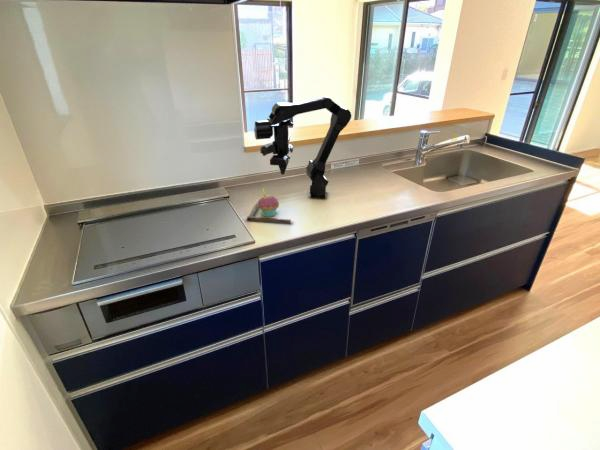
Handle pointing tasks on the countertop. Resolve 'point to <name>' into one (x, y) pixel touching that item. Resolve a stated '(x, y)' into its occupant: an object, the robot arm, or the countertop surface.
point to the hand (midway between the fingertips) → (282, 174)
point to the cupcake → (268, 205)
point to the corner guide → (262, 219)
